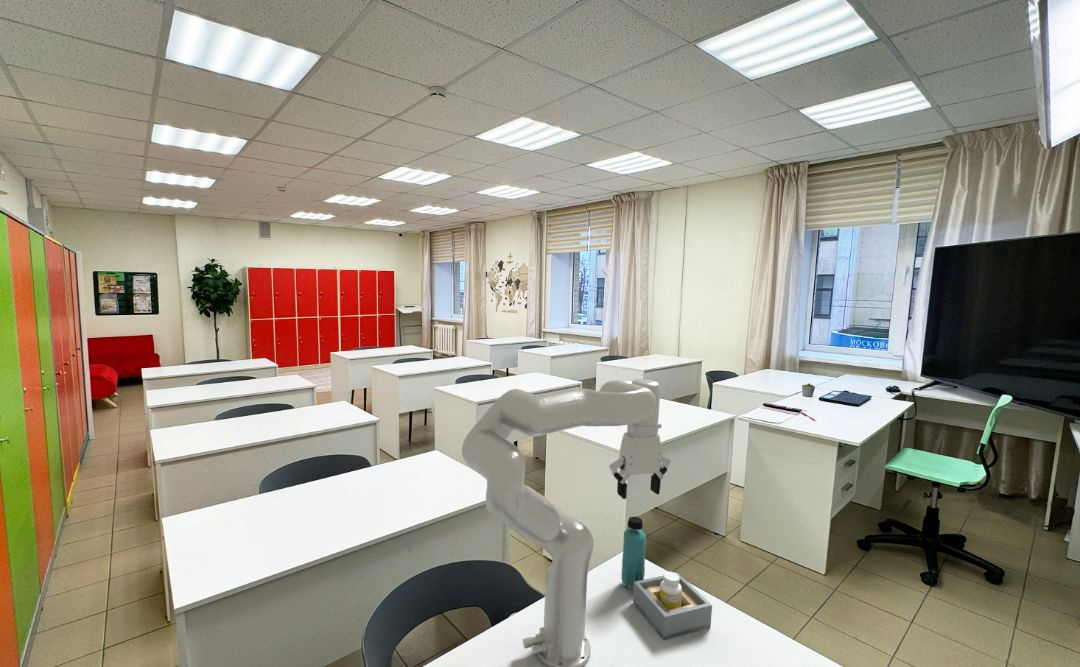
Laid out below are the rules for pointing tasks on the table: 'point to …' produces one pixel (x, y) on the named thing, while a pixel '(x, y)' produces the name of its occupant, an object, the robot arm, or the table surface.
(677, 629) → the box
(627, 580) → the beverage bottle
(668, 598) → the supplement bottle
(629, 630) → the table surface
